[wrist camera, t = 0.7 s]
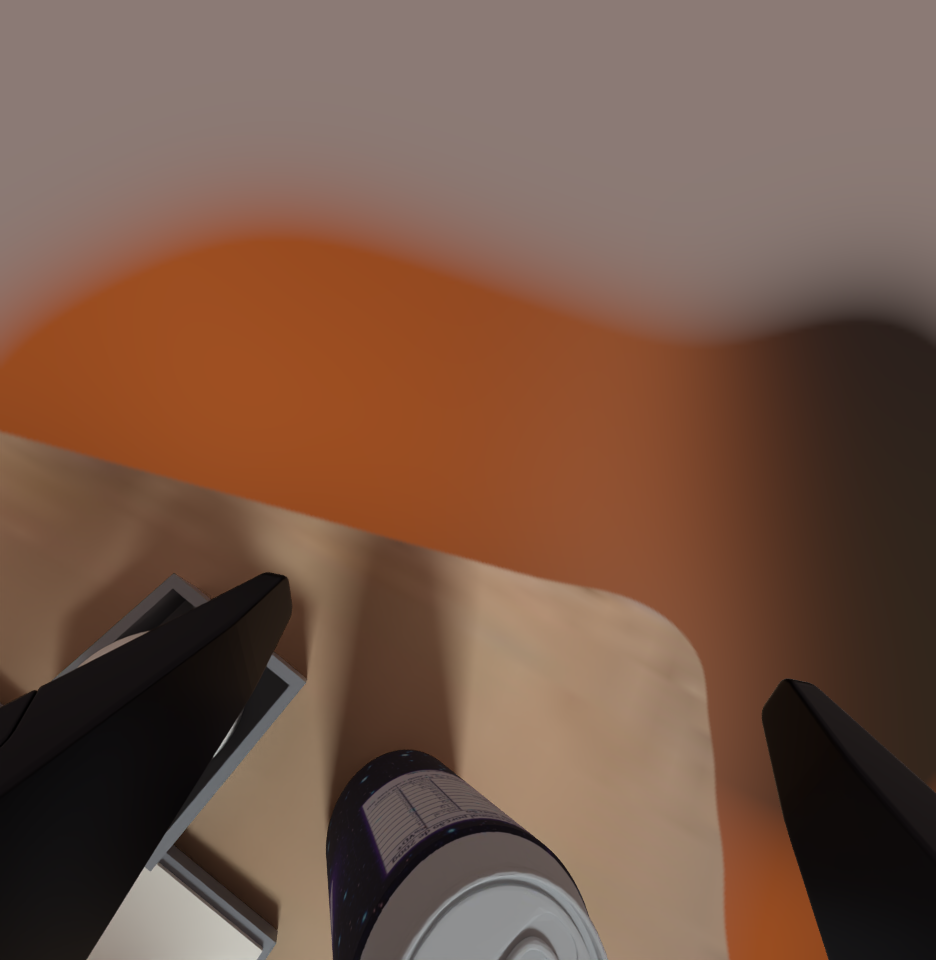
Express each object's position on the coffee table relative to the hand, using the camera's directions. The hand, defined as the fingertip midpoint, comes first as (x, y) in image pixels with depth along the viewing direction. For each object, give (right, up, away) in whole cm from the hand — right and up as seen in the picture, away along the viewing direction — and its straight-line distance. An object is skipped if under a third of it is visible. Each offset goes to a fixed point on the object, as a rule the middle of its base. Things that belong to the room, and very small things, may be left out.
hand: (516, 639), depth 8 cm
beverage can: (-4, -12, +11) cm, 16 cm away
